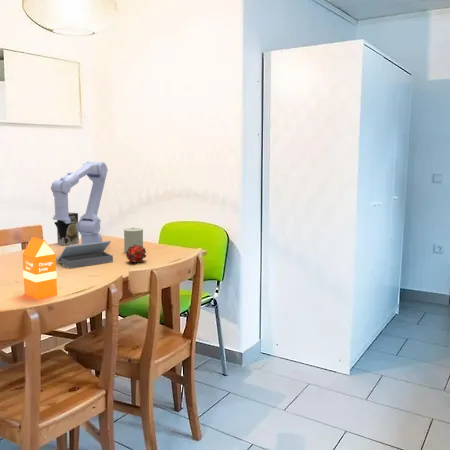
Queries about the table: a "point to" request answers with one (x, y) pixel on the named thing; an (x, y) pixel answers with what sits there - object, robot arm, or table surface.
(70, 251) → the lid
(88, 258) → the grey hinged box
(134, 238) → the can
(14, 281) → the table surface
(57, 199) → the robot arm
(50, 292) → the orange juice
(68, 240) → the coffee box
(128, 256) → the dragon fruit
